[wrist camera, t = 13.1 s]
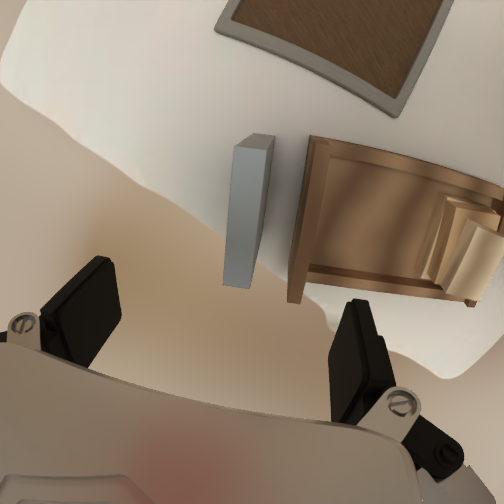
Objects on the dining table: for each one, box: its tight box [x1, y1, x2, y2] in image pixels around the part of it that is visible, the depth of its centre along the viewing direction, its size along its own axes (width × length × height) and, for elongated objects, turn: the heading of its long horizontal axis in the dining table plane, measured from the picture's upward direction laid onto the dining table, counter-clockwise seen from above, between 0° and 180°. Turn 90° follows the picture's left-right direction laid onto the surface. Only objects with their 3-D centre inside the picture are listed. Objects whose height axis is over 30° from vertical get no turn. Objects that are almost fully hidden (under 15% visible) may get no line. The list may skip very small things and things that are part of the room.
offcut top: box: [438, 218, 504, 302], centre depth 24 cm, size 5×7×2 cm
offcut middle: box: [427, 200, 501, 284], centre depth 25 cm, size 6×8×2 cm
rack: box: [287, 135, 504, 307], centre depth 27 cm, size 23×14×7 cm, turn 84°
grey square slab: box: [223, 133, 275, 289], centre depth 25 cm, size 2×10×11 cm, turn 174°
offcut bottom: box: [415, 191, 496, 280], centre depth 28 cm, size 7×9×2 cm
